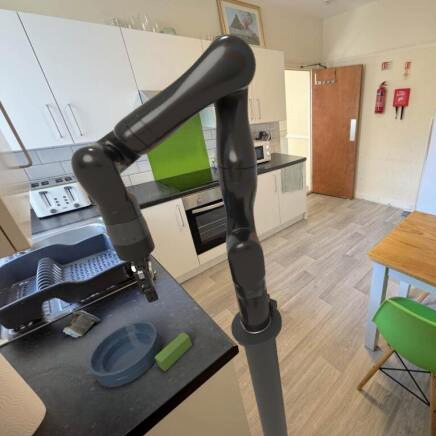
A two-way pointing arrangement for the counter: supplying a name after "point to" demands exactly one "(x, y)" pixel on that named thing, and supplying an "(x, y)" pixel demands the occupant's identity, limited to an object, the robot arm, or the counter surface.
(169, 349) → the bar
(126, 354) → the bowl
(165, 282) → the counter surface
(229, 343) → the counter surface
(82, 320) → the crumpled grey bag
